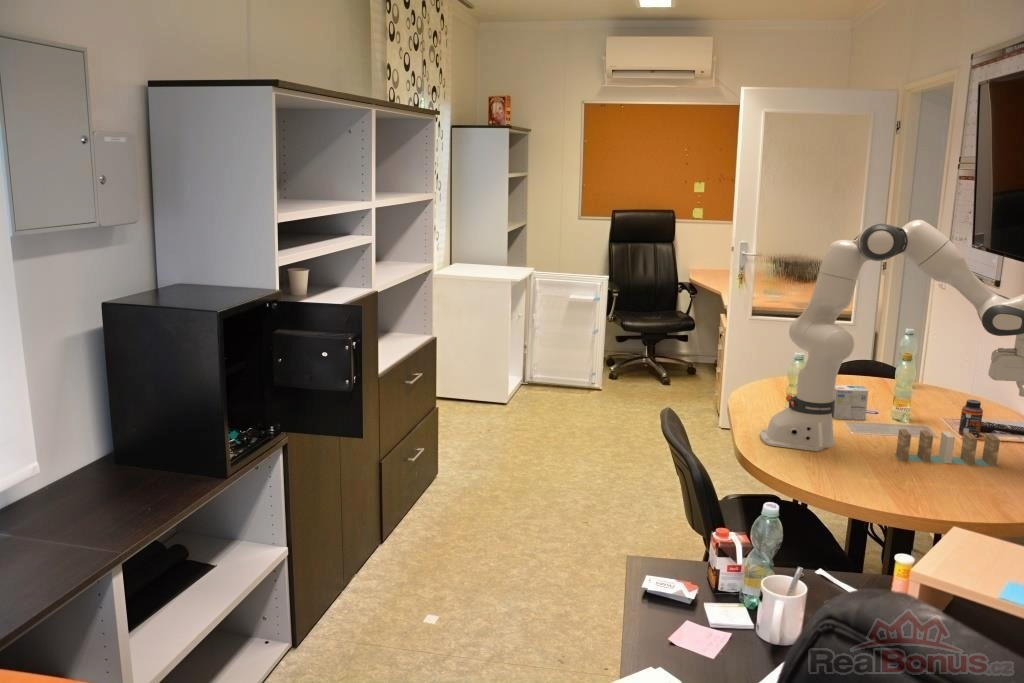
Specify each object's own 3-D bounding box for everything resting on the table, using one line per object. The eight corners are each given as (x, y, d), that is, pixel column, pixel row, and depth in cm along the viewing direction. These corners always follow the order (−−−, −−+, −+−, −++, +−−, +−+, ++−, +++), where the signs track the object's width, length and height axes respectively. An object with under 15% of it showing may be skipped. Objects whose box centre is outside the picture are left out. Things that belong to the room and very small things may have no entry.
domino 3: (944, 462, 236) (947, 436, 235) (938, 456, 241) (941, 431, 239) (951, 463, 236) (955, 437, 234) (945, 457, 241) (948, 431, 239)
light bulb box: (859, 414, 282) (862, 384, 280) (866, 420, 275) (869, 390, 273) (828, 413, 283) (831, 383, 281) (833, 419, 276) (836, 389, 274)
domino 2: (922, 461, 237) (925, 435, 235) (917, 455, 242) (920, 430, 240) (929, 462, 237) (933, 436, 235) (924, 455, 242) (927, 430, 240)
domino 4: (966, 464, 235) (970, 438, 234) (960, 458, 240) (963, 432, 238) (973, 464, 235) (977, 438, 233) (967, 458, 240) (971, 433, 238)
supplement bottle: (968, 438, 258) (973, 404, 256) (954, 432, 264) (958, 399, 261) (983, 436, 260) (988, 402, 257) (969, 430, 266) (973, 397, 263)
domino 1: (900, 460, 238) (904, 434, 236) (896, 454, 243) (899, 429, 241) (908, 460, 238) (911, 435, 236) (903, 454, 243) (906, 429, 241)
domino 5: (988, 465, 234) (992, 439, 233) (982, 459, 239) (985, 433, 237) (996, 466, 234) (1000, 439, 232) (989, 459, 239) (993, 434, 237)
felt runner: (899, 461, 238) (899, 460, 238) (893, 454, 244) (893, 453, 244) (998, 467, 234) (998, 466, 234) (990, 460, 240) (990, 459, 239)
